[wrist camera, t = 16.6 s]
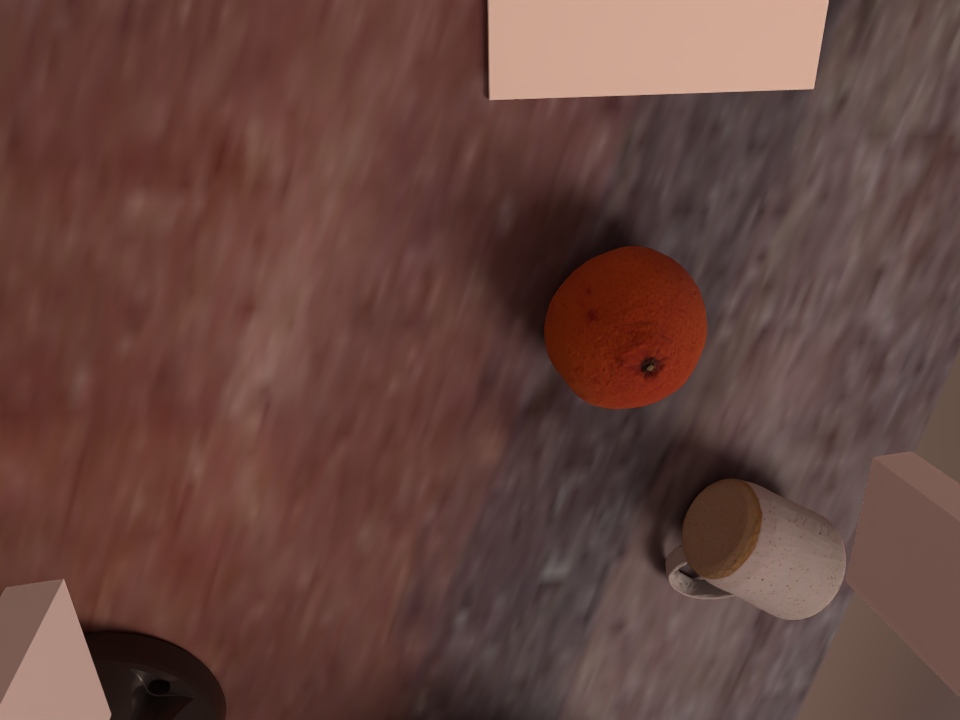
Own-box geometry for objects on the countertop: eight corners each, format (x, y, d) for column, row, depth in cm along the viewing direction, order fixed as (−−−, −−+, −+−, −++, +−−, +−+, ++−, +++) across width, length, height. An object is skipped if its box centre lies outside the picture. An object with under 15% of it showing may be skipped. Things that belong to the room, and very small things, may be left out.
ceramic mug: (719, 451, 48) (780, 522, 41) (802, 491, 51) (872, 563, 44) (632, 563, 51) (675, 647, 44) (715, 595, 54) (767, 678, 47)
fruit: (586, 400, 45) (631, 470, 37) (504, 301, 41) (537, 357, 34) (701, 314, 43) (771, 369, 36) (627, 203, 40) (689, 240, 32)
